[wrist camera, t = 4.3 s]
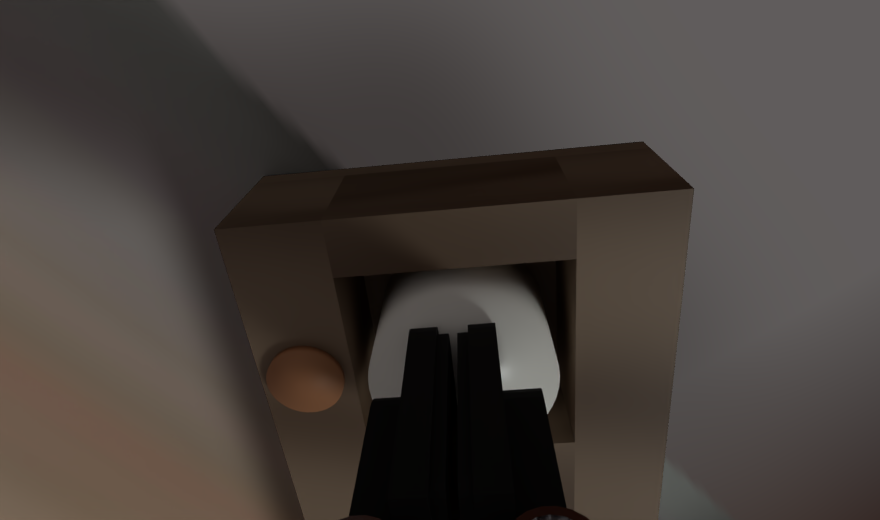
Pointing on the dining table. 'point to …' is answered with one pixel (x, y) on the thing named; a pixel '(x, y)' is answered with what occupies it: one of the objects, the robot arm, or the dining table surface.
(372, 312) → the button board
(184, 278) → the dining table surface
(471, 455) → the robot arm
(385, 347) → the grey rounded piece
